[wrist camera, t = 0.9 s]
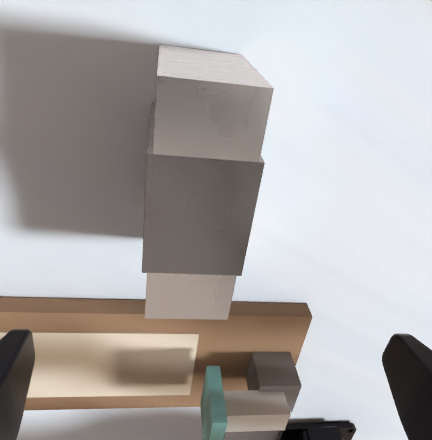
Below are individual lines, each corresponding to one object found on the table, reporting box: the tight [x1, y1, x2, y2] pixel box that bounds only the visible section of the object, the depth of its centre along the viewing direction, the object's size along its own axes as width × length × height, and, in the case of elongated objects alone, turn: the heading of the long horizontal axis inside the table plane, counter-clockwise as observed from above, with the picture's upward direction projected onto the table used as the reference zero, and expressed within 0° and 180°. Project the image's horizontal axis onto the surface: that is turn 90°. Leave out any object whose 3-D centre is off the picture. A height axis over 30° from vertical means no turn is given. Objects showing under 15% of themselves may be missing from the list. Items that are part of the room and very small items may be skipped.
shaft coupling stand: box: [0, 297, 312, 440], centre depth 23 cm, size 9×26×6 cm, turn 82°
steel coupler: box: [142, 45, 274, 320], centre depth 17 cm, size 10×4×6 cm, turn 172°
